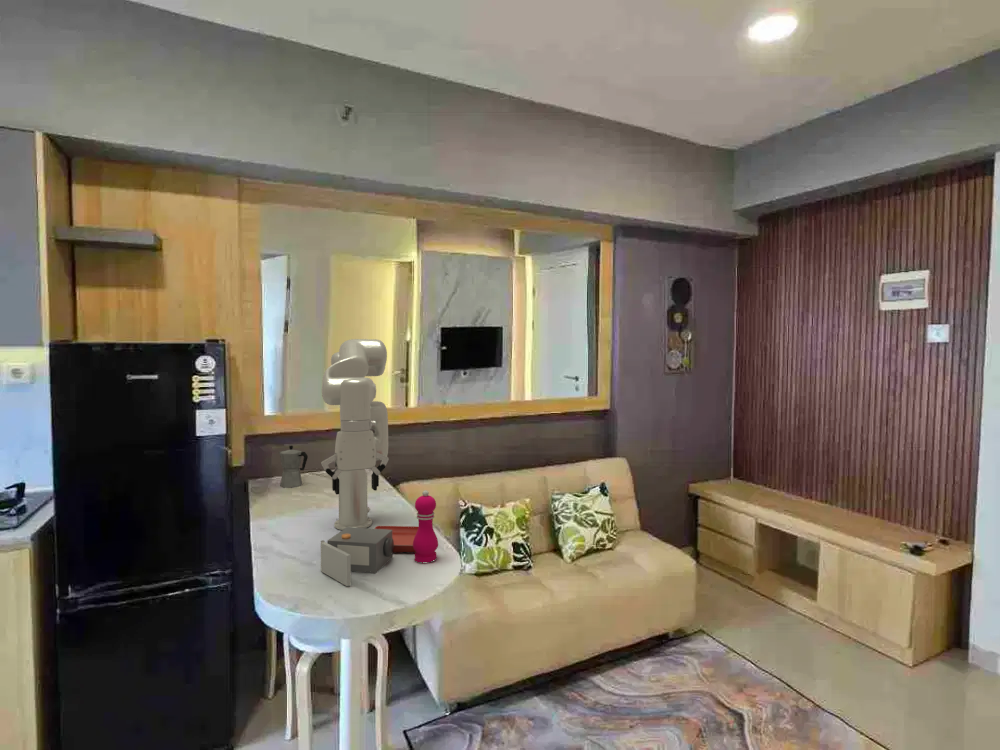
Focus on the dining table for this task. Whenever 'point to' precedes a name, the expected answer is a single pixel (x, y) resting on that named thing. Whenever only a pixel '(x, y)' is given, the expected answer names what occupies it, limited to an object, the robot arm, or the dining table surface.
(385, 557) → the camera case
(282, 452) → the coffeepot
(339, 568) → the side door
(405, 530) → the plant saucer
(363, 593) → the dining table surface
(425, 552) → the pepper mill
